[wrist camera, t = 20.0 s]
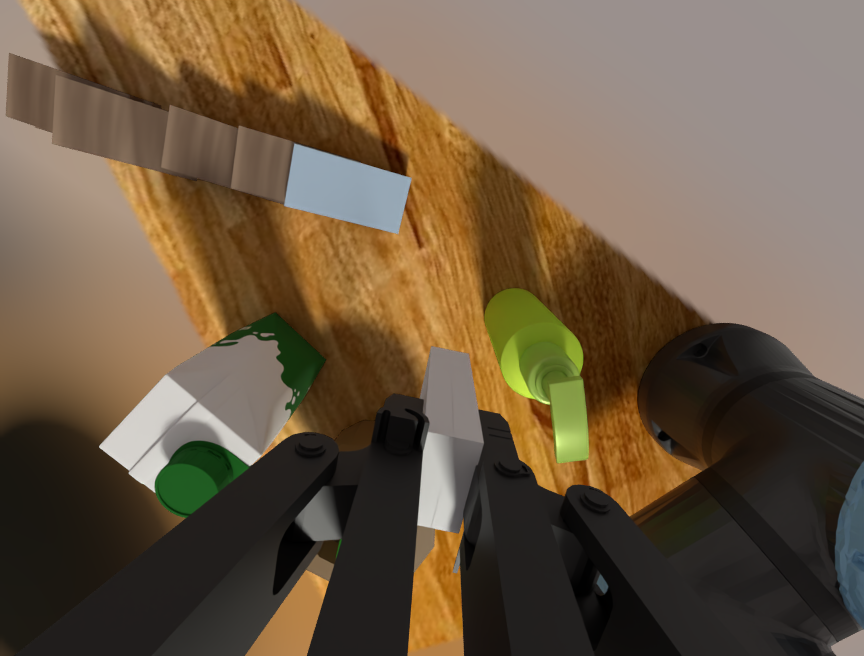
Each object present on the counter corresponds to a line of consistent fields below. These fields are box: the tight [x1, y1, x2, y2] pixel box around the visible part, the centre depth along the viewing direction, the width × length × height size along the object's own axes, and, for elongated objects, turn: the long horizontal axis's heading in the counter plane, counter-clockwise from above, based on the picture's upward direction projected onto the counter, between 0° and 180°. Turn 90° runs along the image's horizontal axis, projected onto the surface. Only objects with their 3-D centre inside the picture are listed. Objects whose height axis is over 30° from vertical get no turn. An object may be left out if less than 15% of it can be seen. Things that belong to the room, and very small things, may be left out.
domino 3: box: [161, 105, 285, 204], centre depth 38 cm, size 2×5×10 cm
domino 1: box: [6, 53, 144, 132], centre depth 37 cm, size 2×5×10 cm
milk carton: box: [99, 312, 326, 518], centre depth 36 cm, size 9×9×20 cm
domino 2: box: [52, 75, 197, 181], centre depth 36 cm, size 2×5×10 cm
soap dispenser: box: [484, 288, 589, 463], centre depth 34 cm, size 6×7×20 cm
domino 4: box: [231, 126, 361, 202], centre depth 38 cm, size 2×5×10 cm
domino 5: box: [284, 144, 411, 234], centre depth 38 cm, size 2×5×10 cm
